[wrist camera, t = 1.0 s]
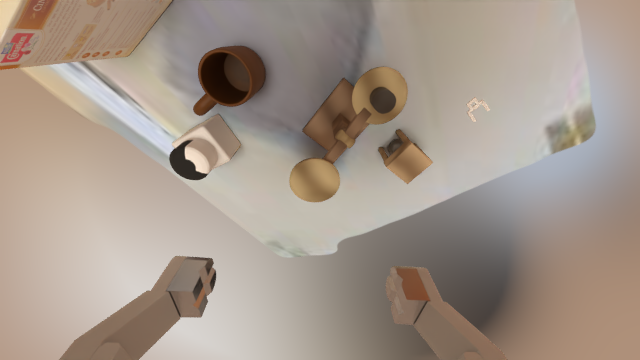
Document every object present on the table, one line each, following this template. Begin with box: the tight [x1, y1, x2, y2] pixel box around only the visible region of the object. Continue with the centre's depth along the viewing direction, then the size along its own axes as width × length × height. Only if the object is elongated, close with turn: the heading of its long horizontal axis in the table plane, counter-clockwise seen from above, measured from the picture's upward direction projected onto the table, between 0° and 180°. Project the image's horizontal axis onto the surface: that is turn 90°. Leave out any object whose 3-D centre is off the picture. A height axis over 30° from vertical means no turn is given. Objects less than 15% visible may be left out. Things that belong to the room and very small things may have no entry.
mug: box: [193, 46, 265, 116], centre depth 36 cm, size 12×8×9 cm, turn 129°
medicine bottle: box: [170, 114, 241, 180], centre depth 40 cm, size 7×7×12 cm
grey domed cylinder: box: [388, 139, 404, 155], centre depth 45 cm, size 4×4×4 cm
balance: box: [290, 67, 408, 202], centre depth 38 cm, size 23×9×13 cm, turn 141°
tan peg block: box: [378, 129, 433, 184], centre depth 44 cm, size 6×6×8 cm
